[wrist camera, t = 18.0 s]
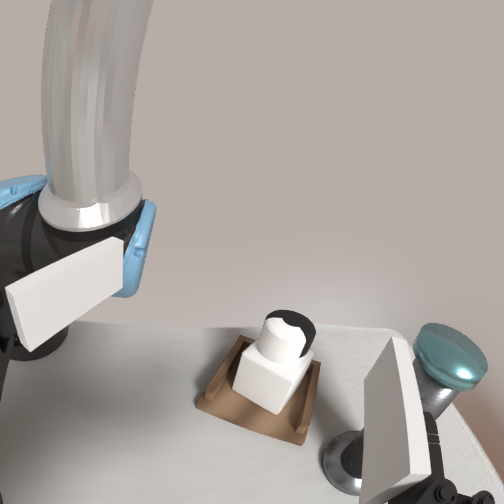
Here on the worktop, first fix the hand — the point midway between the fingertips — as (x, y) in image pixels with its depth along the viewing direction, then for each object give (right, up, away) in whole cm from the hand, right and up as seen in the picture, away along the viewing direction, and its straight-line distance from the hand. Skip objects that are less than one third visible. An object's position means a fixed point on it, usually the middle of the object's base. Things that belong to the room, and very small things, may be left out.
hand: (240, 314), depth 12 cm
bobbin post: (+14, -24, +13) cm, 31 cm away
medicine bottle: (+2, -16, +23) cm, 28 cm away
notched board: (+2, -17, +24) cm, 29 cm away
